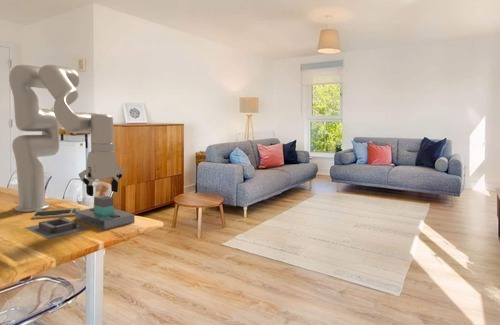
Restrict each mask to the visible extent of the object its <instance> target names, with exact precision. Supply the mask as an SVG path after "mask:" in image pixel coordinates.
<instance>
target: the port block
mask: <svg viewBox="0 0 500 325" xmlns="http://www.w3.org/2000/svg"><path fill="white" fill-rule="evenodd" d="M113 210H114V214H111V215H107V216H101V215H98V214H95V207H91V208H86V209H82V210H81V209H80V211H75V216H74V219H75V220H76V221H79V222H81V223H84V224H87V225H90V226H92V227H94V228H98V229H100V230H103V231H107V230H110V229H113V228H114V229H115V228H118V227H123V226H126V225H129V224H135V214H133V213H131V212H128V211H123V210H120V209H117V208H114V207H113Z"/></svg>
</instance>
